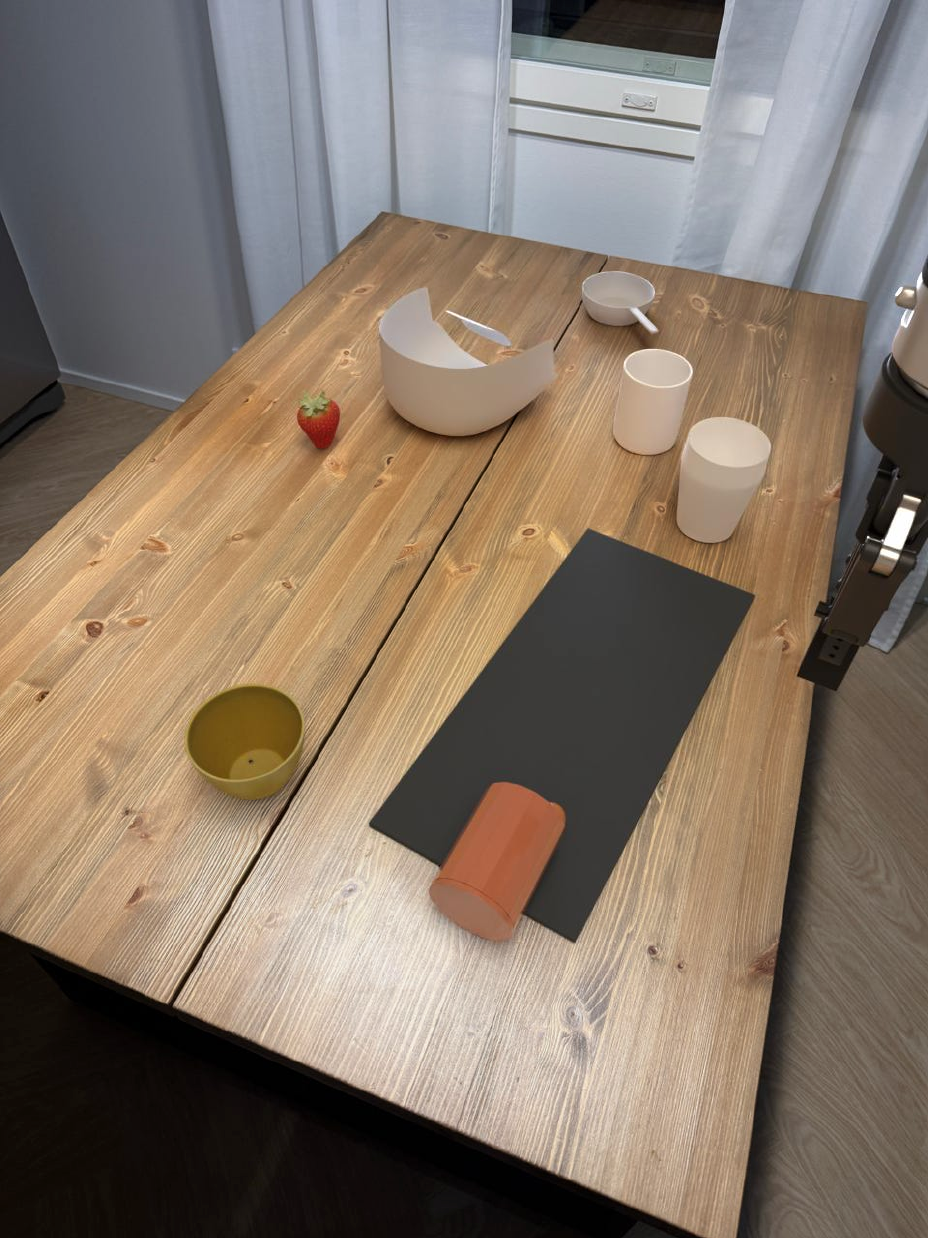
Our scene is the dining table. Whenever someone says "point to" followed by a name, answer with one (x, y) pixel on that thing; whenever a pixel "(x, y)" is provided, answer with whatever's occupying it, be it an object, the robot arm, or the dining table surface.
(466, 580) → the dining table surface
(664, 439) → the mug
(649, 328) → the small pan
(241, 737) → the flower pot
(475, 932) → the spoon cup
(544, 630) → the mat
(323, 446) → the fruit
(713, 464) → the cup
